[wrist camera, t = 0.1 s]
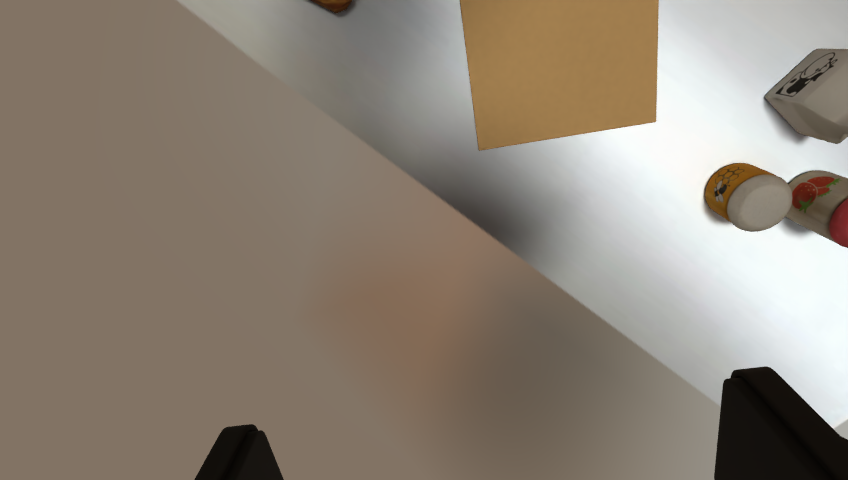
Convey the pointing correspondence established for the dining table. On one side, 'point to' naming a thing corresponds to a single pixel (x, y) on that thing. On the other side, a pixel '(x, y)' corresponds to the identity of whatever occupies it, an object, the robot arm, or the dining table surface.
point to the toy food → (810, 192)
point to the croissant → (334, 4)
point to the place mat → (559, 67)
